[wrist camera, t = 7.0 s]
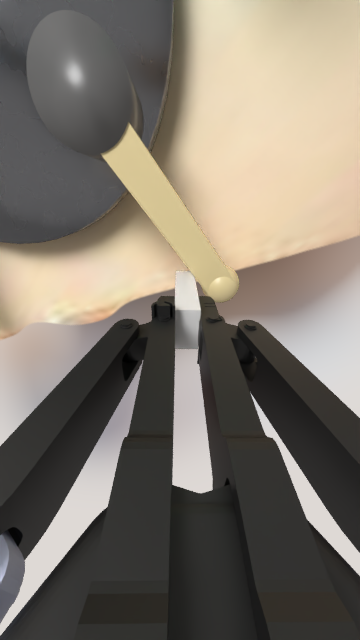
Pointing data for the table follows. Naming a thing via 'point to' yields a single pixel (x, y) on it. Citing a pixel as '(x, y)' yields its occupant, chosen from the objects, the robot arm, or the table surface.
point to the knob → (113, 131)
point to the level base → (42, 146)
